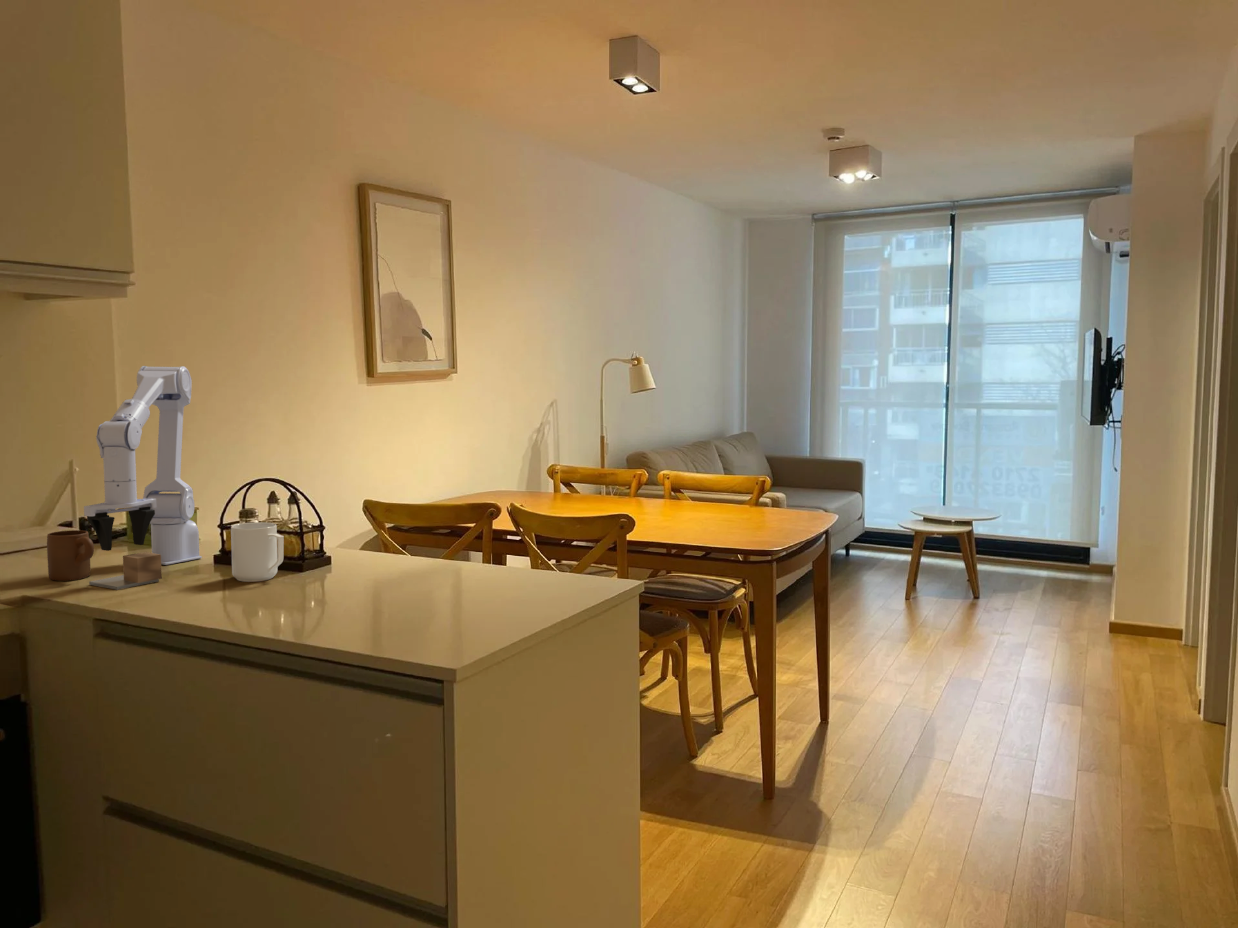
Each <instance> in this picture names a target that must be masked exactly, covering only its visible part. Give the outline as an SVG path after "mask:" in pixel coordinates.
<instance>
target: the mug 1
mask: <svg viewBox="0 0 1238 928" xmlns="http://www.w3.org/2000/svg"><path fill="white" fill-rule="evenodd" d="M94 551H95V545H94V542H93V540H92V539H91V538H90V535H89V531H87V530H83V529H82V530H81V529H80V530H78V529H75V530H74V529H73V530H61V531H53V532H49V533H47V535H46V554H47V557H46V558H47V568H48V569H47V570H48V571H47V572H48V578H49V579H50V580H52V581H57V582H67V581H76V580H81V579H83V580H84V579H86V578H88V577H89V576H90V575H91V559H92V557H93V555H94Z"/></svg>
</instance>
